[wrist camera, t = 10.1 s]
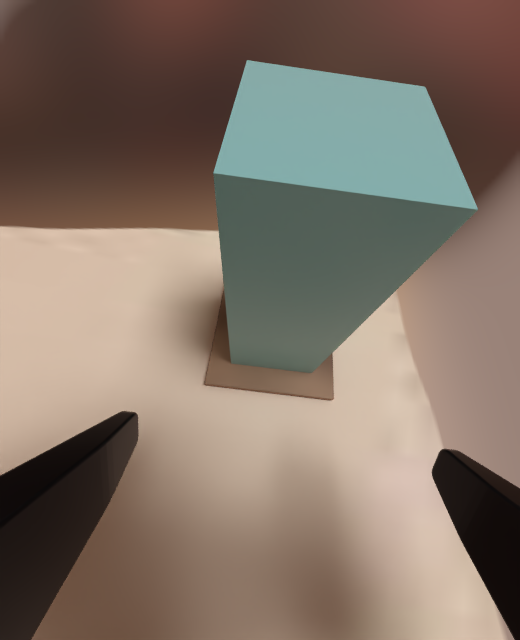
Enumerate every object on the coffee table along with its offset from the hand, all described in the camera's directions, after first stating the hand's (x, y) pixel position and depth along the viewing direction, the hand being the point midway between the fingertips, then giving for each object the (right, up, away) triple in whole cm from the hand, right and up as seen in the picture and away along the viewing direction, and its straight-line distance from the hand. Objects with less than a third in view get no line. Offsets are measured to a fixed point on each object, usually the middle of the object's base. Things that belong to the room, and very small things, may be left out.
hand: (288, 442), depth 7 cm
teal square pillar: (0, +3, +10) cm, 10 cm away
